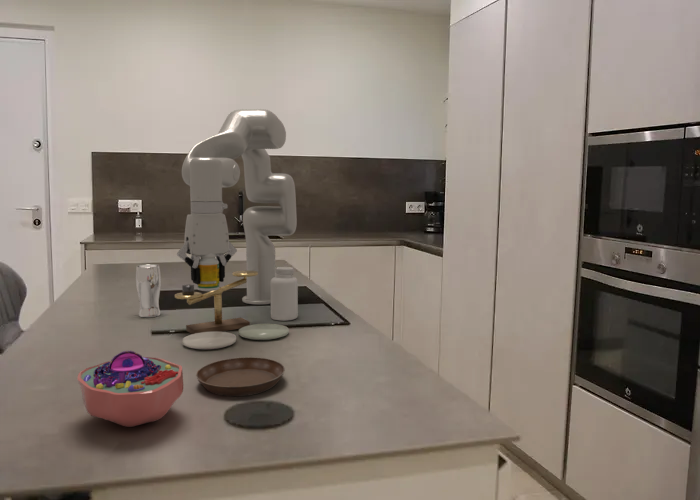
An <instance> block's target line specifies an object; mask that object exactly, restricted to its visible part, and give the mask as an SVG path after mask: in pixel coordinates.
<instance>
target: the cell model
mask: <svg viewBox="0 0 700 500" xmlns="http://www.w3.org/2000/svg"><path fill="white" fill-rule="evenodd" d="M183 374H184V373H183V366H182V365H180V364H177V363H174V362H171V361H169V360H166V359H164V358H160V357H153V356H152V357H149V356H142V355H141V354H140V353H138V352H136V351H133V350H122V351H120V352H119V353H117V354H116V355H114V356H113V357H112V359H110V360H109V361H105V362H101V363H99V364H97V365H93V366H90V367H87V368H84V369H83V370H81V371H80V372H78V375H77V382H78V385H79V387H80V390H81V397H82V403H83V406H84V408H85V410H86V412H87V414H89V415H90V416H91V417H95V418H99V419H103V420H105V421H109V422H111V423H114V424H117V425H119V426H122V427H128V428H131V427H136V426H141V425H145V424H149V423H153V422H156V421H159V420H160V419H162V418H163V417H164V416H165V415H166V414H167V413H168V412H169V411H170V409H171V408H172V406H173V405H174V404H175V403H176V402H177V400H179V398H180V397H181V396H182V394H183V392H184V375H183Z"/></svg>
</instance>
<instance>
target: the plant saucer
mask: <svg viewBox="0 0 700 500" xmlns="http://www.w3.org/2000/svg"><path fill="white" fill-rule="evenodd" d="M285 369H286V368H285V366H284V365H283V364H282V363H280V361H277V360H273V359H269V358H264V357H252V356H250V357H247V356H245V357H235V358H234V357H233V358H226V359H222V360H217V361H214V362H210V363H209V364H206V365H204V366H202V367H201V368H199V369H198V370H197V371H196V374H195V377H196V379H197V381H198V382H199V383H200V384H201V385H202V387H203V388H205V390H207V392H208V391H209V392H210V393H213V394H215V395H219V396H225V397H244V396H251V395H252V396H253V395H257V394H260V393H263V392H266V391H268V390H270V389H272V388H273V387H275V386H276V384H278V382H280V380H281V378H282V377H283V375H284V374H285V371H286V370H285Z"/></svg>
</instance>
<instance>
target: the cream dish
mask: <svg viewBox="0 0 700 500" xmlns="http://www.w3.org/2000/svg"><path fill="white" fill-rule="evenodd" d="M236 342H237V336H236V334H234V333H231V332H226V331H221V332H201V333H195V334H191V333H190V334H189V335H187V336H184V338H182V345H183V346H185V347H186V348H190V349H196V350H203V351H204V350H207V351H208V350H209V351H210V350H218V349H222V348H225V347H229V346H231V345H234V344H235V343H236Z"/></svg>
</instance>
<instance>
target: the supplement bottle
mask: <svg viewBox="0 0 700 500" xmlns="http://www.w3.org/2000/svg"><path fill="white" fill-rule="evenodd" d="M198 268H200V284H196V288H197V290H198V291H200V292H210V291H214V290H218V289H219V287H220V281H219V261H218V260H217V259H216V255H215V254H212V253H210V254H208V255H205V256H200V259H199V263H198Z"/></svg>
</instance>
